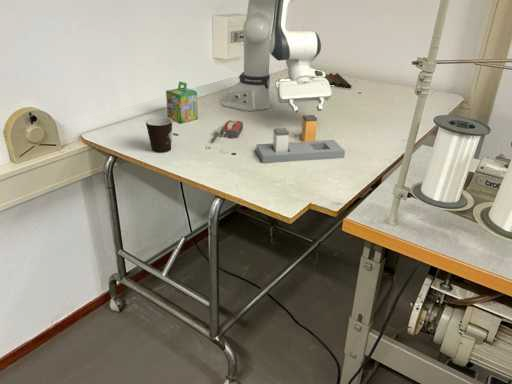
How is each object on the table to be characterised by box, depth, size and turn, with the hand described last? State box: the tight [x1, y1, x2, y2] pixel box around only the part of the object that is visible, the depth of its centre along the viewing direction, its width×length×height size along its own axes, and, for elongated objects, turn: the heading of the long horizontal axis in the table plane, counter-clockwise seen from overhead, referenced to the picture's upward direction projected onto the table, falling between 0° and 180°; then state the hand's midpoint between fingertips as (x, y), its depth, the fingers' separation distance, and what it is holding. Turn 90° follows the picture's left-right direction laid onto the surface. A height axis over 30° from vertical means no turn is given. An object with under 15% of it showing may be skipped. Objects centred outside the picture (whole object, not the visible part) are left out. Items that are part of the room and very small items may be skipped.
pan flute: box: [325, 72, 353, 89], centre depth 228 cm, size 25×3×25 cm
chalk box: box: [165, 81, 199, 124], centre depth 165 cm, size 9×9×15 cm
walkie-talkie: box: [211, 120, 244, 143], centre depth 153 cm, size 9×4×20 cm
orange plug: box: [300, 114, 318, 142], centre depth 149 cm, size 4×4×9 cm
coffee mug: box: [145, 116, 173, 154], centre depth 139 cm, size 12×9×10 cm
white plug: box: [272, 127, 290, 153], centre depth 136 cm, size 4×4×9 cm
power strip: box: [255, 139, 346, 164], centre depth 139 cm, size 28×10×2 cm, turn 102°
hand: (308, 111), depth 151 cm, fingers open, 8 cm apart
